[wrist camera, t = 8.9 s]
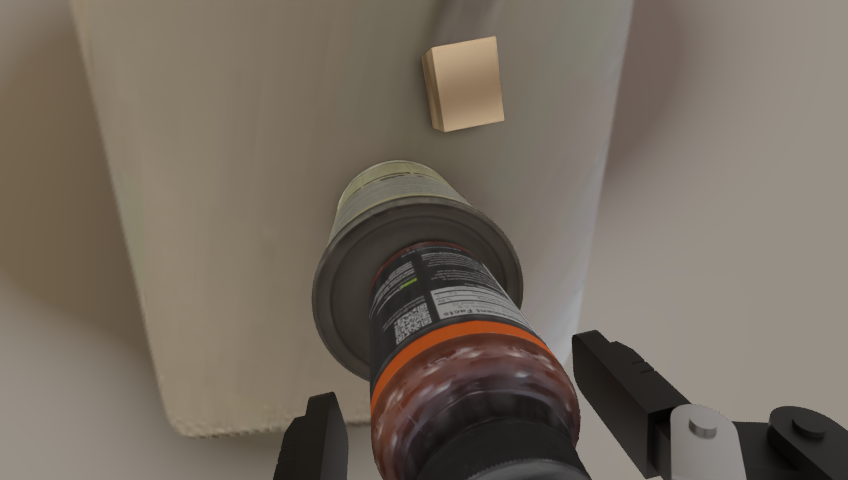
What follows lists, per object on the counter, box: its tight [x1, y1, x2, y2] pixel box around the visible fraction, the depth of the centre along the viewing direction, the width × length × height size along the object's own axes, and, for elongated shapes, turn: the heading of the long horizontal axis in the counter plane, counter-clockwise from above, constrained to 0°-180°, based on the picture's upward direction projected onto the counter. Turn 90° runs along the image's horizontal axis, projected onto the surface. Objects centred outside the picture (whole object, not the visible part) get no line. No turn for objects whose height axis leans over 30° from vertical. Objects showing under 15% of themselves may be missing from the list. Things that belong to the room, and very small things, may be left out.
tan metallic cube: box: [421, 36, 504, 132], centre depth 27 cm, size 5×4×5 cm
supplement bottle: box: [369, 241, 592, 480], centre depth 13 cm, size 6×6×11 cm
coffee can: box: [312, 160, 523, 382], centre depth 25 cm, size 10×10×14 cm
